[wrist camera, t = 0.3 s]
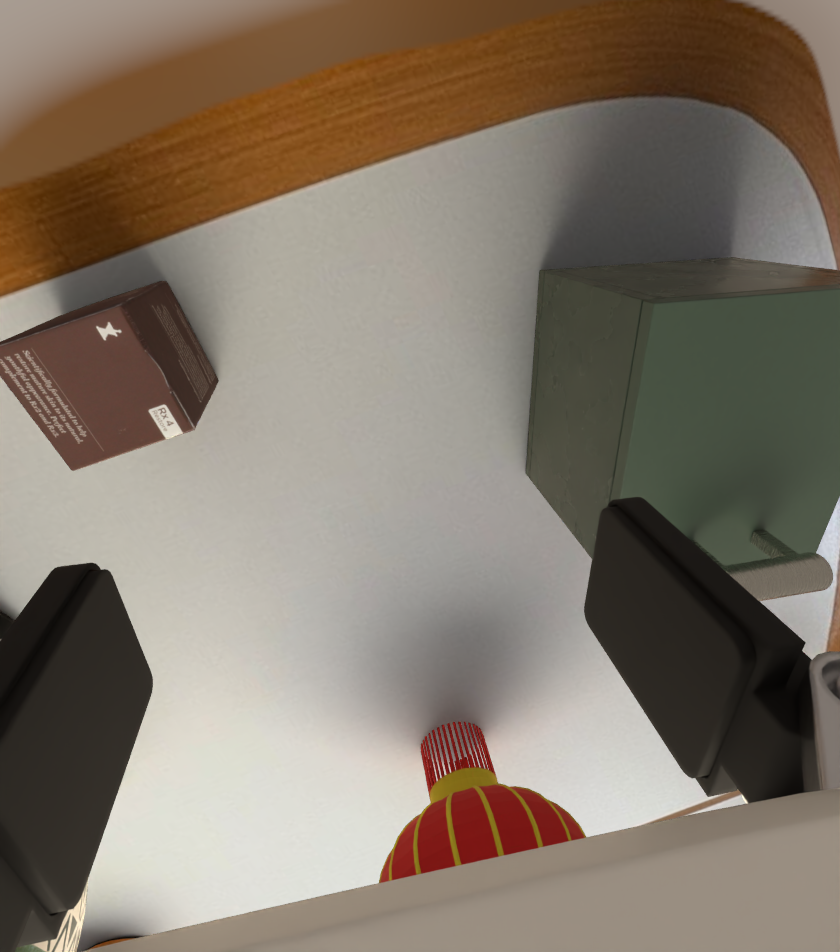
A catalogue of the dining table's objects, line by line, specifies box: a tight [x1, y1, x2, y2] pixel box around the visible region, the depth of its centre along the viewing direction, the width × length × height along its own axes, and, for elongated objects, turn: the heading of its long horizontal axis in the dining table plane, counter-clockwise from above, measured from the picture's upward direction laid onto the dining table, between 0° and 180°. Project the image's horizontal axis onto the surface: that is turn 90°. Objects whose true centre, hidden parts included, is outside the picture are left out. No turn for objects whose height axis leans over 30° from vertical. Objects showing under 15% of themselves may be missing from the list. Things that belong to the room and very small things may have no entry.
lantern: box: [379, 722, 586, 883], centre depth 36 cm, size 17×17×30 cm
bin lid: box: [610, 285, 840, 601], centre depth 22 cm, size 14×13×5 cm
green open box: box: [526, 257, 840, 559], centre depth 29 cm, size 14×13×11 cm
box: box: [0, 281, 218, 471], centre depth 25 cm, size 6×6×7 cm
